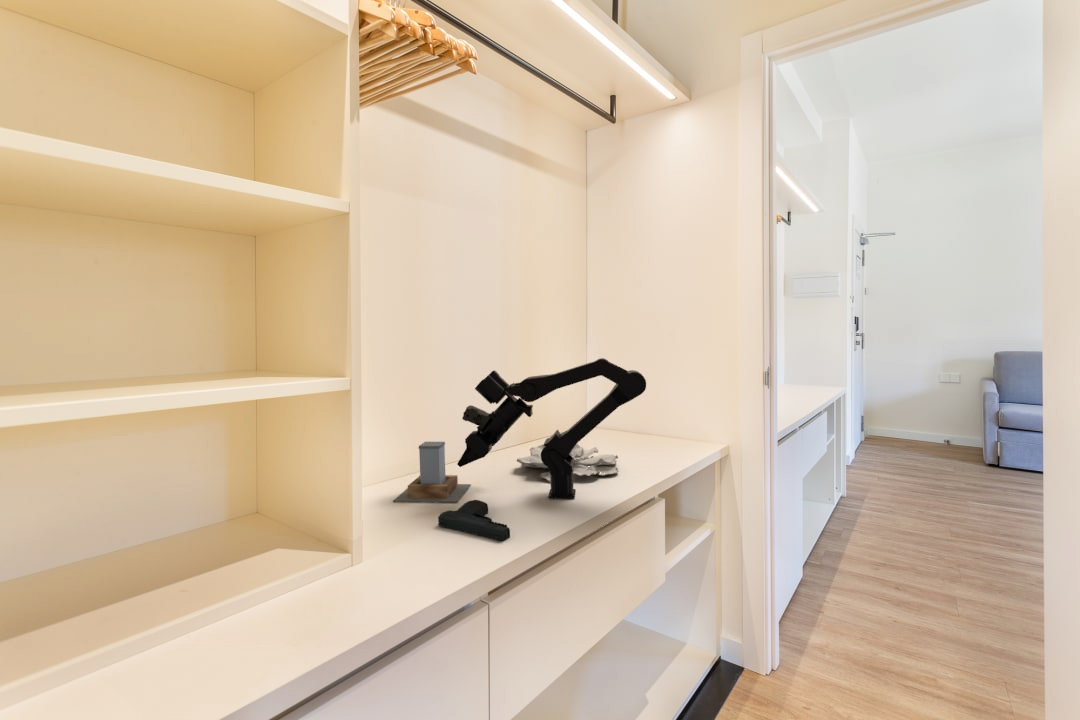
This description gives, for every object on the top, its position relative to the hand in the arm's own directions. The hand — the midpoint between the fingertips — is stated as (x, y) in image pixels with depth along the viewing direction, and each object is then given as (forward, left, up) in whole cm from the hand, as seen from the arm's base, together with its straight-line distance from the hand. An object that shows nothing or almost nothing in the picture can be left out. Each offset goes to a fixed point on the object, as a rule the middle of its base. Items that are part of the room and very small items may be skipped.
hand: (463, 460), depth 132 cm
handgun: (-21, -10, -9) cm, 25 cm away
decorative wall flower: (+25, -25, -9) cm, 36 cm away
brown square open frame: (0, +8, -9) cm, 12 cm away
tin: (0, +8, -8) cm, 11 cm away
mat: (0, +8, -9) cm, 12 cm away
